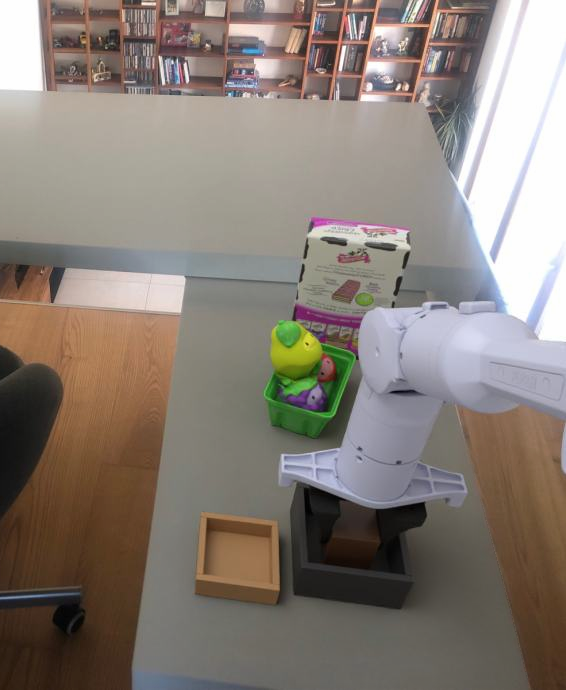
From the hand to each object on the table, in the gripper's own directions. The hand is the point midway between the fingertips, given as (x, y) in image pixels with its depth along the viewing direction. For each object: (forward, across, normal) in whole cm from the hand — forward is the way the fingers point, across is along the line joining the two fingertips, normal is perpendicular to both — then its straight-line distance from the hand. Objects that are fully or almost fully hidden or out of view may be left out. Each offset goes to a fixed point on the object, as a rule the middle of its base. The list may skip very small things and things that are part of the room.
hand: (348, 537), depth 63 cm
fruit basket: (+3, +3, -20) cm, 20 cm away
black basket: (+3, 0, 0) cm, 3 cm away
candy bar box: (+3, -2, -31) cm, 32 cm away
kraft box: (+3, +10, +2) cm, 10 cm away
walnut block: (+2, 0, 0) cm, 2 cm away
